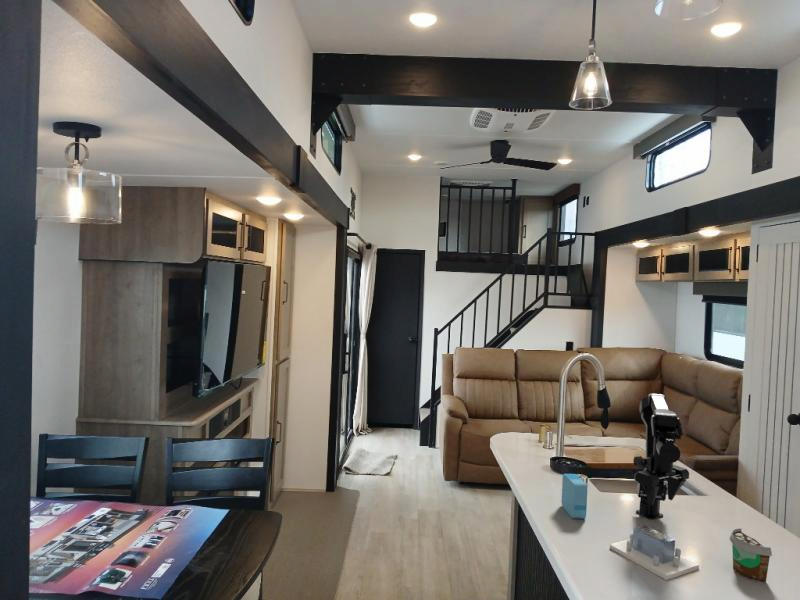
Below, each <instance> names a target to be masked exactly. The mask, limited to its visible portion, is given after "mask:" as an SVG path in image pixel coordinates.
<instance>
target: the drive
mask: <svg viewBox="0 0 800 600" xmlns="http://www.w3.org/2000/svg"><path fill="white" fill-rule="evenodd" d="M632 532H633V533H632V534H633V549H635V550H637V551H639V552H641V553H643V554H645V555H647V556H649V557H650V558H652V559H654V555H657V556H659V562H660V563H662V564H664V563H667V562H670V561H673V556H674V553H675V549H676V539H675V538H672V537H670V536H668V535H666V534H664V533H662V532H660V531H658V530H656V529H654V528H651V527H649V526H648V525H640V526H637V527H633V531H632Z"/></svg>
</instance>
